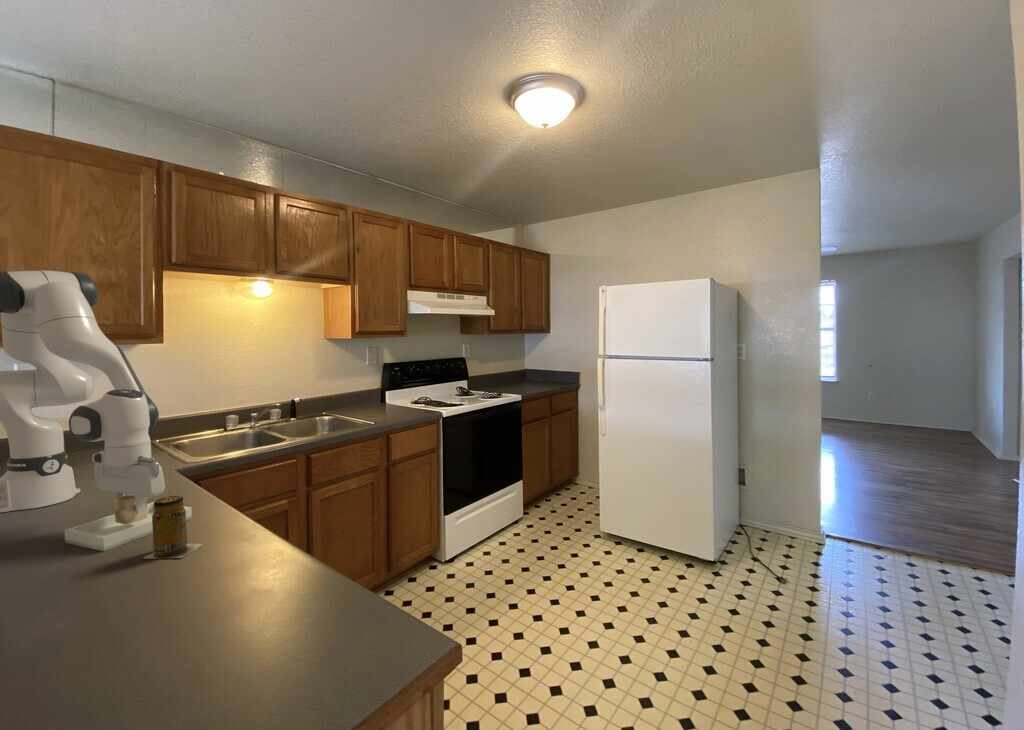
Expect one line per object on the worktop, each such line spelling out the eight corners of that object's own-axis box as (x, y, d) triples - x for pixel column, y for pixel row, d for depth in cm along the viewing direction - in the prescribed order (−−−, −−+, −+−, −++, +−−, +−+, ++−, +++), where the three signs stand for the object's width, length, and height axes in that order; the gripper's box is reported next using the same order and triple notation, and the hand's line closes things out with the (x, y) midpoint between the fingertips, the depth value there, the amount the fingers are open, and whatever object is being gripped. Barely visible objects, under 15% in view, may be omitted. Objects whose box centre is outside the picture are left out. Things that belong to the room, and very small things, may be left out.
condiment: (167, 544, 107) (165, 493, 106) (204, 544, 106) (201, 493, 106) (142, 559, 99) (139, 505, 99) (181, 559, 99) (178, 505, 99)
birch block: (115, 522, 113) (114, 498, 113) (135, 515, 117) (134, 492, 117) (127, 524, 112) (126, 500, 111) (147, 517, 116) (146, 494, 116)
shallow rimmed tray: (65, 542, 108) (64, 530, 107) (155, 512, 126) (154, 501, 126) (104, 551, 103) (103, 538, 103) (192, 518, 122) (191, 507, 122)
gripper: (171, 455, 113) (173, 510, 114) (116, 449, 120) (118, 501, 121) (143, 461, 107) (146, 519, 108) (87, 454, 114) (90, 509, 115)
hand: (131, 509), depth 114 cm, fingers closed on birch block, 4 cm apart
